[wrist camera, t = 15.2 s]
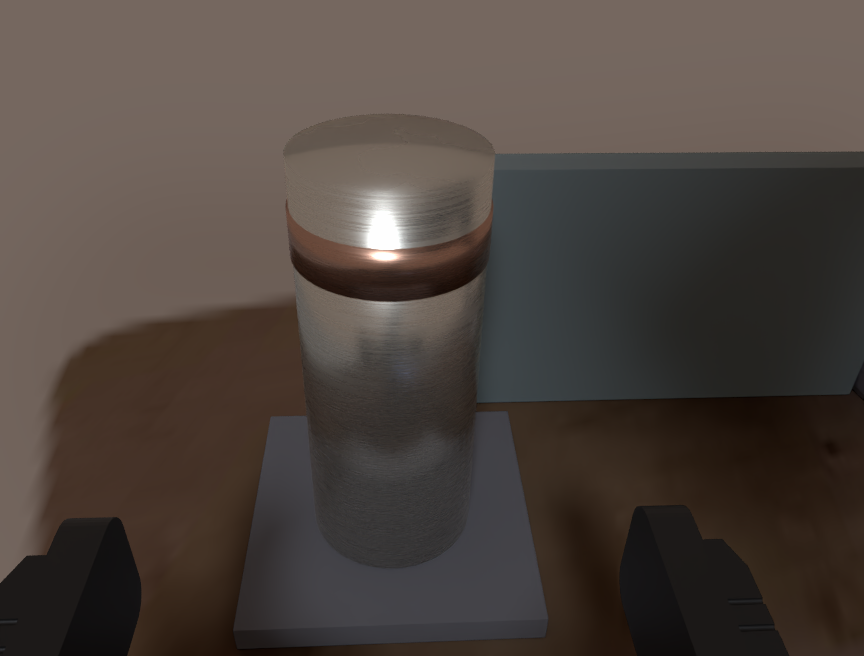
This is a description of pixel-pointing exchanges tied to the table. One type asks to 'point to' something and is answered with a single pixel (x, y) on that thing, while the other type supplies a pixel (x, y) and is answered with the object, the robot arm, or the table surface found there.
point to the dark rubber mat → (388, 587)
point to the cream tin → (390, 325)
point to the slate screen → (673, 276)
